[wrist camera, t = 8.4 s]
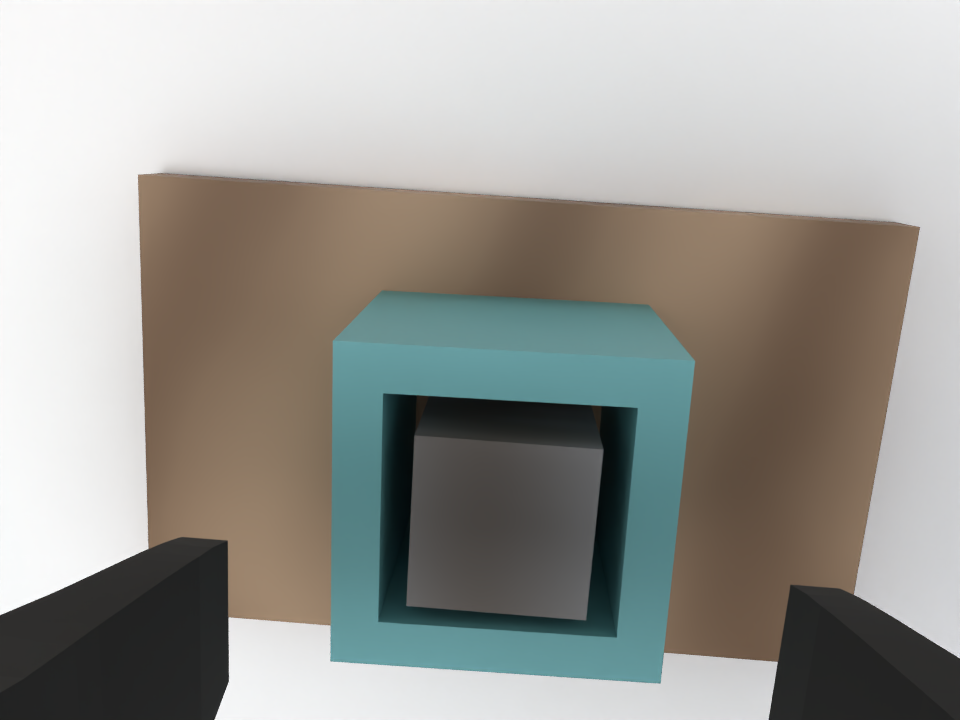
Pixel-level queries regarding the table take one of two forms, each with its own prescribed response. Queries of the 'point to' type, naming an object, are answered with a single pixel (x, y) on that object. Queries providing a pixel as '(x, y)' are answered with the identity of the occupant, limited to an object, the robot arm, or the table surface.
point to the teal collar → (516, 377)
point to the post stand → (517, 424)
